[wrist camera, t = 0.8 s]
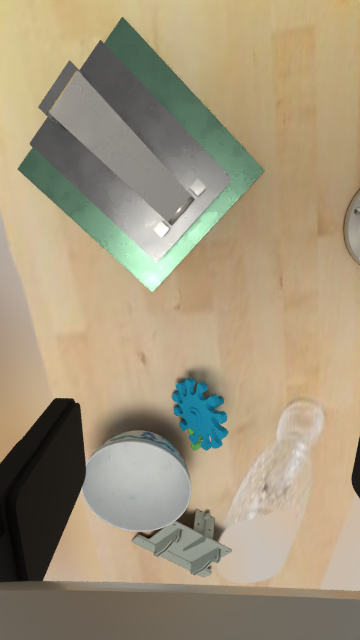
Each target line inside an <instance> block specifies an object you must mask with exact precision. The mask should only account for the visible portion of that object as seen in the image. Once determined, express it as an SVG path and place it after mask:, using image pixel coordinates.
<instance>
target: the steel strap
mask: <svg viewBox="0 0 360 640" xmlns="http://www.w3.org/2000/svg"><path fill="white" fill-rule="evenodd" d="M49 113H50V114H51V115H52V116H53V117H54V118H55V119H56V120H58V121H59V122H60V123H61V124H62V125H63V126H64V127H65V128H66V129H67V130H68V131H69V132H71V133H72V134H73V135H74V136H75V137H76V138H77V139H78V140H79V141H80V142H81V143H82V144H84V145H85V146H86V147H87V148H88V149H89V150H90V151H91V152H92V153H93V154H94V155H95V156H97V157H98V158H99V159H100V160H101V161H102V162H103V163H104V164H105V165H106V166H107V167H109V168H110V169H111V170H112V171H113V172H114V173H115V174H116V175H117V176H118V177H119V178H120V179H122V180H123V181H124V182H125V183H126V184H127V185H128V186H129V187H130V188H131V189H132V190H133V191H135V192H136V193H137V194H138V195H139V196H140V197H141V198H142V199H143V200H144V201H145V202H146V203H148V204H149V205H150V206H151V207H152V208H153V209H154V210H155V211H156V212H157V213H158V214H160V215H161V216H162V217H163V218H164V219H165V220H166V221H167V222H168V223H169V224H170V225H171V226H172V225H173V223H174V222H175V221H176V220H177V219H178V218H179V217H180V216H181V214H182V213H183V212H184V211H185V210H186V209H187V208H188V206H189V205H190V204H191V203H192V202H193V201H194V200H195V199H194V198H193V197H192V196H191V195H190V193H189V192H188V191H187V190H186V189H185V188H184V187H183V186H182V185H181V184H180V182H179V181H178V180H177V179H176V178H175V177H174V176H173V175H172V174H171V173H170V171H169V170H168V169H167V168H166V167H165V166H164V165H163V164H162V163H161V162H160V160H159V159H158V158H157V157H156V156H155V155H154V154H153V153H152V152H151V151H150V149H149V148H148V147H147V146H146V145H145V144H144V143H143V142H142V141H141V140H140V138H139V137H138V136H137V135H136V134H135V133H134V132H133V131H132V130H131V129H130V127H129V126H128V125H127V124H126V123H125V122H124V121H123V120H122V119H121V118H120V116H119V115H118V114H117V113H116V112H115V111H114V110H113V109H112V108H111V107H110V105H109V104H108V103H107V102H106V101H105V100H104V99H103V98H102V97H101V95H100V94H99V93H98V92H97V91H96V90H95V89H94V88H93V87H92V86H91V84H90V83H89V82H88V81H87V80H86V79H85V78H84V77H83V76H82V75H81V73H80V72H79V71H76V72H75V74H74V75H73V76H72V78H71V79H70V81H69V82H68V84H67V85H66V87H65V88H64V90H63V91H62V93H61V94H60V96H59V97H58V99H57V100H56V101H55V103H54V104H53V106H52V107H51V109H50V110H49Z"/></svg>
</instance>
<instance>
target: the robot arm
mask: <svg viewBox="0 0 360 640" xmlns="http://www.w3.org/2000/svg"><path fill="white" fill-rule="evenodd" d="M354 210H356V213H355V214H354ZM344 236H345V241H346V245H347V248H348V250H349V252H350V254H351V256H352V257H353V258H354V260H355V261H356V262H357V263H358V264H360V190H359V192H358V193H357V194H356V196H355V197H354V198H353V200H352V202H351V204H350V206H349V208H348V211H347V215H346V218H345V225H344ZM85 477H86V463H85V452H84V442H83V431H82V420H81V410H80V404H79V403H75V401H74V399H70V398H55V399H54V400H53V401H52V402H51V404H50V405H49V406H48V407H47V409H46V410H45V411H44V412H43V414H42V415H41V416H40V417H39V419H38V420H37V421H36V422H35V423H34V425H33V426H32V427H31V429H30V430H29V431H28V432H27V433H26V435H25V436H24V437H23V438H22V440H20V441H19V442H18V443H17V444H16V445H15V446H14V447H13V449H12V450H11V451H10V452H9V454H8V455H7V456H6V457H5V459H4V460H3V461H2V462H1V463H0V640H360V591H344V590H320V589H295V588H269V587H242V586H215V585H185V584H153V583H121V582H71V581H43V578H44V576H45V574H46V572H47V569H48V567H49V564H50V562H51V560H52V557H53V555H54V553H55V550H56V548H57V546H58V543H59V541H60V538H61V536H62V533H63V531H64V529H65V527H66V524H67V522H68V519H69V517H70V515H71V512H72V510H73V508H74V505H75V502H76V500H77V498H78V496H79V493H80V491H81V489H82V486H83V484H84V481H85ZM352 485H353V488H354V490H355V492H356V493H357V495H358V496H359V498H360V437H359V442H358V447H357V452H356V458H355V463H354V468H353V473H352Z"/></svg>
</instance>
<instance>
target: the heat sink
mask: <svg viewBox="0 0 360 640" xmlns="http://www.w3.org/2000/svg"><path fill="white" fill-rule="evenodd" d="M76 71H79V72H80V73H81V75H82V76H83V77H84V78H85V79H86V80H87V81H88V82H89V83H90V84H91V86H92V87H93V88H94V89H95V90H96V91H97V92H98V93H99V94H100V95H101V97H102V98H103V99H104V100H105V101H106V102H107V103H108V104H109V105H110V107H111V108H112V109H113V110H114V111H115V112H116V113H117V114H118V115H119V116H120V118H121V119H122V120H123V121H124V122H125V123H126V124H127V125H128V126H129V127H130V129H131V130H132V131H133V132H134V133H135V134H136V135H137V136H138V137H139V138H140V140H141V141H142V142H143V143H144V144H145V145H146V146H147V147H148V148H149V149H150V151H151V152H152V153H153V154H154V155H155V156H156V157H157V158H158V159H159V160H160V162H161V163H162V164H163V165H164V166H165V167H166V168H167V169H168V170H169V171H170V173H171V174H172V175H173V176H174V177H175V178H176V179H177V180H178V181H179V182H180V184H181V185H182V186H183V187H184V188H185V189H186V190H187V191H188V192H189V193H190V195H191V196H192V197H193V198H194V199H195V200H194V201H193V202H192V203H191V204H190V205H189V206H188V208H187V209H186V210H185V211H184V212H183V213H182V214H181V216H180V217H179V218H178V219H177V220H176V221H175V222H174V223H173V225H172V226H171V225H170V224H169V223H168V222H167V221H166V220H165V219H164V218H163V217H162V216H161V215H160V214H158V213H157V212H156V211H155V210H154V209H153V208H152V207H151V206H150V205H149V204H148V203H146V202H145V201H144V200H143V199H142V198H141V197H140V196H139V195H138V194H137V193H136V192H135V191H133V190H132V189H131V188H130V187H129V186H128V185H127V184H126V183H125V182H124V181H123V180H122V179H120V178H119V177H118V176H117V175H116V174H115V173H114V172H113V171H112V170H111V169H110V168H109V167H107V166H106V165H105V164H104V163H103V162H102V161H101V160H100V159H99V158H98V157H97V156H95V155H94V154H93V153H92V152H91V151H90V150H89V149H88V148H87V147H86V146H85V145H84V144H82V143H81V142H80V141H79V140H78V139H77V138H76V137H75V136H74V135H73V134H72V133H71V132H69V131H68V130H67V129H66V128H65V127H64V126H63V125H62V124H61V123H60V122H59V121H58V120H56V119H55V118H54V117H53V116H52V115H51V114H50V113H49V110H50V109H51V107H52V106H53V104H54V103H55V101H56V100H57V99H58V97H59V96H60V94H61V93H62V91H63V90H64V88H65V87H66V85H67V84H68V82H69V81H70V79H71V78H72V76H73V75H74V74H75V72H76ZM38 108H39V109H41V110H42V111H43V112H44V113H45V114H46V115H47V116H48V117H47V119H46V120H45V122H44V123H43V125H42V126H41V128H40V129H39V131H38V132H37V133H36V135H35V136H34V138H33V139H32V141H31V142H30V145H31V146H32V149H31V150H30V152H29V153H28V155H27V156H26V158H25V159H24V161H23V162H22V163H21V165H20V166H19V168H18V170H19V171H20V172H21V173H22V174H23V175H24V176H25V177H27V178H28V179H29V180H30V181H31V182H32V183H33V184H34V185H35V186H36V187H38V188H39V189H40V190H41V191H42V192H43V193H44V194H45V195H46V196H47V197H48V198H50V199H51V200H52V201H53V202H54V203H55V204H56V205H57V206H58V207H59V208H61V209H62V210H63V211H64V212H65V213H66V214H67V215H68V216H69V217H70V218H72V219H73V220H74V221H75V222H76V223H77V224H78V225H79V226H80V227H81V228H82V229H84V230H85V231H86V232H87V233H88V234H89V235H90V236H91V237H92V238H93V239H95V240H96V241H97V242H98V243H99V244H100V245H101V246H102V247H103V248H104V249H105V250H107V251H108V252H109V253H110V254H111V255H112V256H113V257H114V258H115V259H116V260H118V261H119V262H120V263H121V264H122V265H123V266H124V267H125V268H126V269H127V270H129V271H130V272H131V273H132V274H133V275H134V276H135V277H136V278H137V279H138V280H139V281H141V282H142V283H143V284H144V285H145V286H146V287H147V288H148V289H149V290H150V291H152V292H153V291H154V290H155V289H156V288H157V287H158V285H159V284H160V283H161V282H162V281H163V280H164V279H165V278H166V277H167V276H168V275H169V274H170V272H171V271H172V270H173V269H174V268H175V267H176V266H177V265H178V264H179V263H180V262H181V261H182V260H183V258H184V257H185V256H186V255H187V254H188V253H189V252H190V251H191V250H192V249H193V248H194V247H195V245H196V244H197V243H198V242H199V241H200V240H201V239H202V238H203V237H204V236H205V235H206V234H207V232H208V231H209V230H210V229H211V228H212V227H213V226H214V225H215V224H216V223H217V222H218V221H219V220H220V218H221V217H222V216H223V215H224V214H225V213H226V212H227V211H228V210H229V209H230V208H231V207H232V205H233V204H234V203H235V202H236V201H237V200H238V199H239V198H240V197H241V196H242V195H243V194H244V193H245V191H246V190H247V189H248V188H249V187H250V186H251V185H252V184H253V183H254V182H255V181H256V180H257V178H258V177H259V176H260V175H261V174H262V173H263V172H264V171H265V170H264V169H263V168H262V167H261V166H260V165H259V164H258V163H257V162H256V161H255V160H254V159H253V158H252V156H251V155H250V154H249V153H248V152H247V151H246V150H245V149H244V148H243V147H242V146H241V145H240V143H239V142H238V141H237V140H236V139H235V138H234V137H233V136H232V135H231V134H230V133H229V132H228V130H227V129H226V128H225V127H224V126H223V125H222V124H221V123H220V122H219V121H218V120H217V119H216V117H215V116H214V115H213V114H212V113H211V112H210V111H209V110H208V109H207V108H206V107H205V106H204V104H203V103H202V102H201V101H200V100H199V99H198V98H197V97H196V96H195V95H194V94H193V93H192V92H191V90H190V89H189V88H188V87H187V86H186V85H185V84H184V83H183V82H182V81H181V80H180V79H179V77H178V76H177V75H176V74H175V73H174V72H173V71H172V70H171V69H170V68H169V67H168V66H167V64H166V63H165V62H164V61H163V60H162V59H161V58H160V57H159V56H158V55H157V54H156V53H155V51H154V50H153V49H152V48H151V47H150V46H149V45H148V44H147V43H146V42H145V41H144V40H143V38H142V37H141V36H140V35H139V34H138V33H137V32H136V31H135V30H134V29H133V28H132V27H131V26H130V24H129V23H128V22H127V21H126V20H125V19H124V18H123V17H122V18H121V20H120V21H119V22H118V24H117V25H116V27H115V28H114V30H113V31H112V33H111V34H110V35H109V37H108V38H107V40H106V41H105V43H103V42H102V41H101V40H100V41H99V43H98V44H97V46H96V47H95V48H94V50H93V51H92V53H91V54H90V56H89V57H88V59H87V60H86V62H85V63H84V65H83V66H82V68H81V69H80V70H79V69H78V68H77V67H76V66H75V65H74V64H73V63H72V62H71V61H70V60H69V62H68V63H67V65H66V66H65V68H64V69H63V71H62V72H61V74H60V75H59V77H58V78H57V80H56V81H55V83H54V84H53V86H52V87H51V89H50V90H49V92H48V93H47V95H46V96H45V98H44V99H43V101H42V102H41V104H40V105H39V107H38Z"/></svg>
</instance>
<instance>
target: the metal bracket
mask: <svg viewBox="0 0 360 640" xmlns="http://www.w3.org/2000/svg"><path fill="white" fill-rule="evenodd" d="M214 521H215V518H214V517H211V515H210V514H209V513H205V512H203V511H201V512H200V510H199V509H196V514H195V521H194V528H193V529H191V528H189V527H187V526H185V525H183V524H181V523H179V522H177V521H175V522H173V523H172V524H170V525H168V526H166V527H164V528H163V529H161V530H160V531H159V532H157V533H156V534H155V535H154V536H152V537H151V538H149V539H148V538H145V537H143V536H141V535H137V536H136V537H135V538H133V539H132V542H133V543H135V544H137V545H139V546H141V547H143V548H145V549H147V550H149V551H151V552H153V553H154V556H157V557H159V556H161V557H163V558H165V559H167V560H169V561H171V562H173V563H175V564H177V565H179V566H181V567H183V568H185V569H187V570H189V571H190V572H191V574H193V575H196V574H197V575H200V576H202V577H206V576H208V575H210V574H211V570H210V569H208V567H209V565H210V564H211V563H212V562H216V563H219V562H220V559H221V557H223V556H225V555H227V554H229V553H231V552H232V549H230V548H228V547H226V546H224V545H222V544H220V543H218V542H216V541H215V540H213V532H214ZM198 524H199V525H198ZM209 529H210V531H209Z"/></svg>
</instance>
